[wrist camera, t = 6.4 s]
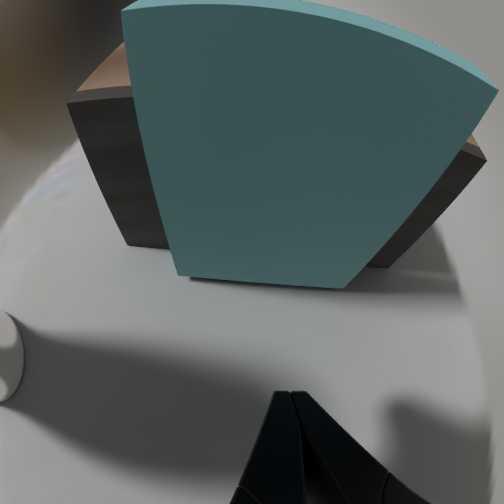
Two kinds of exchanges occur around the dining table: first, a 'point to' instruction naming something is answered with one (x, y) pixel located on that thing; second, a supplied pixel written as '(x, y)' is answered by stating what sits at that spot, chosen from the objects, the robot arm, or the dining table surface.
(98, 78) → the block
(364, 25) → the teal fan slab
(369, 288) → the dining table surface
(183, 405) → the dining table surface
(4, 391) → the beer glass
